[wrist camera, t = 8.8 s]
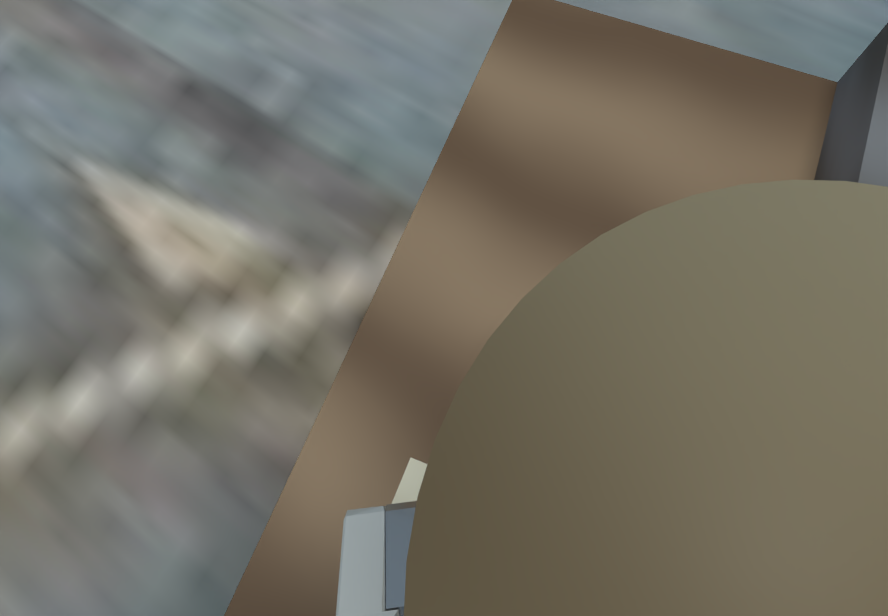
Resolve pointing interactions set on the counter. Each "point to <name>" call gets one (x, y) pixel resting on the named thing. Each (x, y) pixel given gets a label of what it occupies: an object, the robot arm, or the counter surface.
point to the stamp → (677, 423)
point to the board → (540, 235)
